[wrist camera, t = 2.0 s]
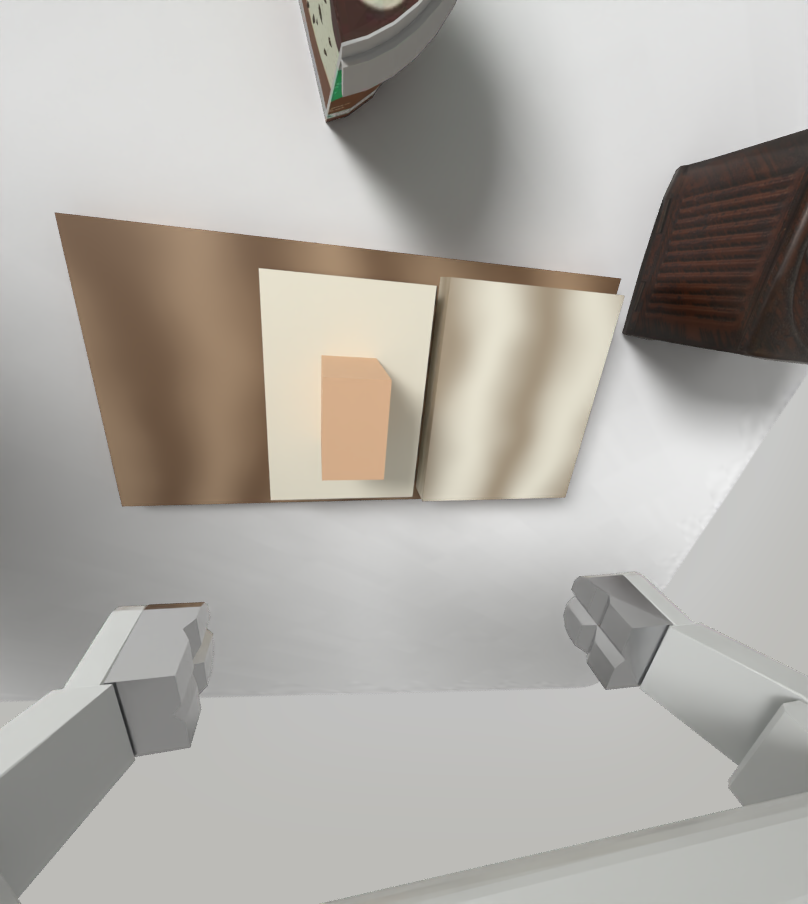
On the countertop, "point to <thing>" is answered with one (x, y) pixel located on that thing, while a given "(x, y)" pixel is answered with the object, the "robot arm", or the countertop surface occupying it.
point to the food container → (365, 44)
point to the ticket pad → (242, 367)
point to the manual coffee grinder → (731, 256)
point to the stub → (343, 383)
